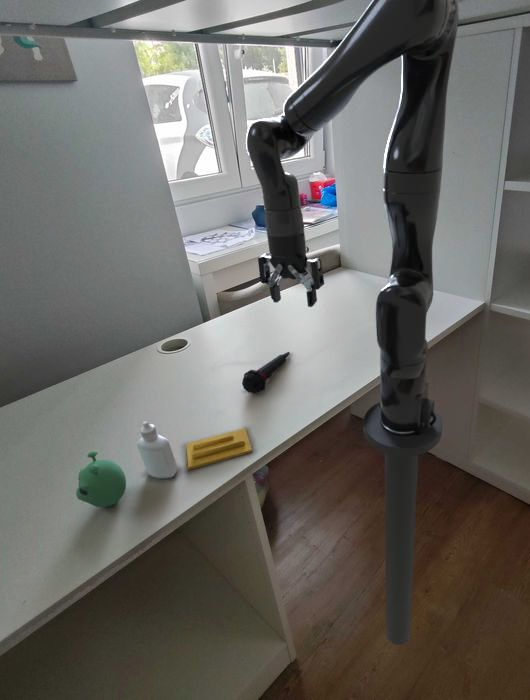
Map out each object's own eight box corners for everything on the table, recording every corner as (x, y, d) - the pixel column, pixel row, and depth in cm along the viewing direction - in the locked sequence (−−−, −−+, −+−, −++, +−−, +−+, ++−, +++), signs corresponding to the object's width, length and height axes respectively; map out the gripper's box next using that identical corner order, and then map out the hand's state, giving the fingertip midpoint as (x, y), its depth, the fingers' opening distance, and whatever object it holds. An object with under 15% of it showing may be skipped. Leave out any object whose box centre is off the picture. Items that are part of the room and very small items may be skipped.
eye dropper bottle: (159, 486, 80) (140, 435, 74) (145, 471, 83) (126, 422, 77) (181, 472, 83) (164, 422, 77) (166, 458, 86) (149, 409, 80)
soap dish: (246, 430, 92) (244, 424, 91) (252, 451, 86) (250, 446, 86) (186, 446, 89) (185, 440, 88) (188, 469, 83) (187, 464, 82)
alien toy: (83, 496, 79) (62, 455, 74) (129, 479, 82) (112, 438, 77) (85, 525, 74) (63, 482, 68) (134, 505, 77) (116, 463, 71)
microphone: (283, 364, 119) (242, 399, 102) (276, 344, 118) (233, 377, 101) (301, 361, 117) (261, 396, 100) (293, 341, 115) (252, 374, 98)
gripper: (245, 233, 89) (257, 306, 97) (308, 237, 83) (316, 314, 92) (264, 223, 95) (274, 293, 103) (325, 226, 89) (330, 300, 98)
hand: (294, 303), depth 97 cm, fingers open, 8 cm apart
